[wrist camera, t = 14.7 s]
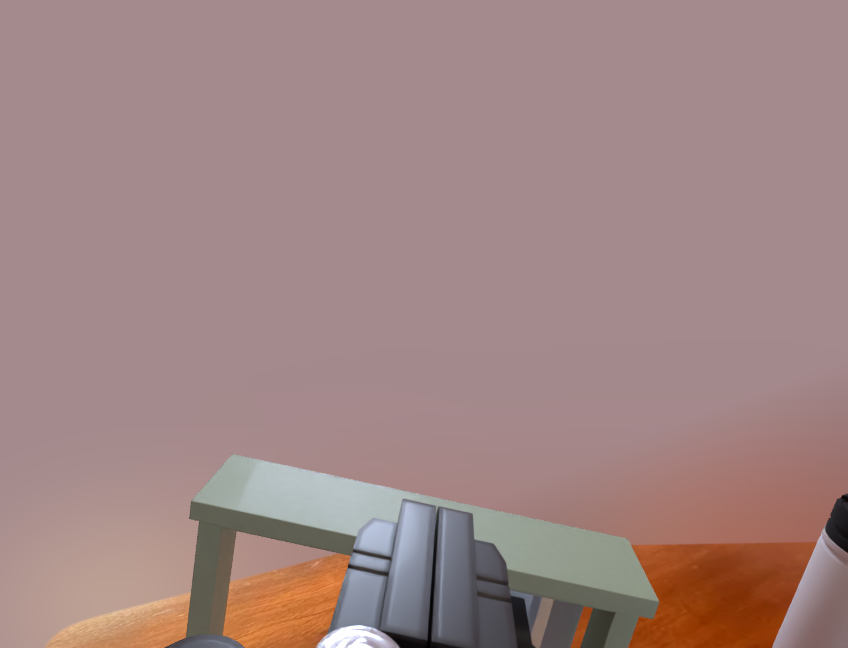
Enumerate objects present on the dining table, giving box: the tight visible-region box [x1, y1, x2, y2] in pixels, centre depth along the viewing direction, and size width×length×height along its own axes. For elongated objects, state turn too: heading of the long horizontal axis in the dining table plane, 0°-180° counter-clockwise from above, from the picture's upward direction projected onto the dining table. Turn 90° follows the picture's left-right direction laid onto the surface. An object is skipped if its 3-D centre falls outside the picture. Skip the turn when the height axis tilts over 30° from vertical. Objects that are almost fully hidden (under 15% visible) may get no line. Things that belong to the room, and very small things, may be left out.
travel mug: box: [772, 494, 848, 648], centre depth 36 cm, size 6×7×20 cm
